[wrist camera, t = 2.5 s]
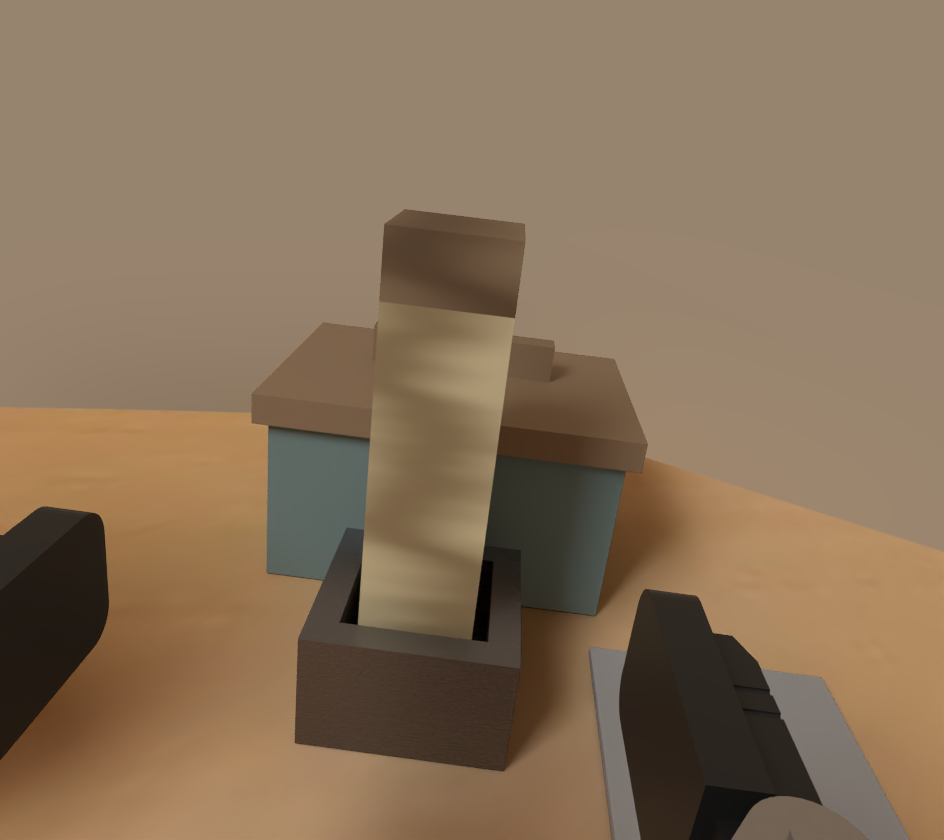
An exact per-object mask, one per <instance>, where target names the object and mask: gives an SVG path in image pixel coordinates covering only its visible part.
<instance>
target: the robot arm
mask: <svg viewBox="0 0 944 840" xmlns="http://www.w3.org/2000/svg"><path fill="white" fill-rule="evenodd" d="M108 609H109V596H108V580H107V565H106V549H105V533H104V525H103V521H102V519H101V517H100V516H99V515H98V514H96V513H90V512H83V511H76V510H68V509H61V508H53V507H41V508H38V509H37V510H35V511H34V512H33V513H31V514H30V515H29V516H27V517H26V518H25V519H24V520H22V521H21V522H20V523H18V524H17V525H16V526H15V527H13V528H12V529H11V530H9V531H8V532H7V533H6V534H4V535H0V760H1V759H2V758H3V756H4V755H5V754H6V753H7V752H8V750H9V749H10V748H11V747H12V746H13V744H14V743H15V742H16V741H17V740H18V738H19V737H20V736H21V735H22V733H23V732H24V731H25V730H26V729H27V727H28V726H29V725H30V724H31V723H32V721H33V720H34V719H35V718H36V717H37V715H38V714H39V713H40V712H41V711H42V709H43V708H44V707H45V706H46V705H47V703H48V702H49V701H50V700H51V698H52V697H53V696H54V695H55V694H56V692H57V691H58V690H59V689H60V688H61V686H62V685H63V684H64V683H65V682H66V680H67V679H68V678H69V677H70V676H71V674H72V673H73V672H74V671H75V670H76V668H77V667H78V666H79V665H80V663H81V662H82V661H83V660H84V659H85V657H86V656H87V655H88V654H89V653H90V651H91V650H92V649H93V648H94V646H95V645H96V644H97V642H98V640H99V639H100V637H101V634H102V632H103V630H104V627H105V624H106V620H107V616H108ZM619 716H620V723H621V729H622V735H623V741H624V746H625V752H626V758H627V764H628V769H629V775H630V781H631V787H632V792H633V798H634V804H635V810H636V815H637V821H638V827H639V832H640V838H641V840H869V839H868V838H867V837H866V836H865V835H864V834H863V833H862V832H861V831H860V830H859V829H857V828H856V827H855V826H854V825H852V824H851V823H850V822H849V821H847V820H846V819H844V818H843V817H841V816H840V815H838V814H837V813H835V812H833V811H832V810H830V809H828V808H826V807H824V806H823V805H822V802H821V800H820V798H819V796H818V794H817V791H816V789H815V787H814V785H813V783H812V780H811V778H810V776H809V774H808V772H807V769H806V767H805V765H804V763H803V761H802V758H801V756H800V754H799V752H798V750H797V747H796V745H795V743H794V741H793V739H792V736H791V734H790V732H789V730H788V728H787V725H786V723H785V721H784V719H781V712H780V710H779V708H778V706H777V704H776V701H775V699H774V697H773V695H770V688H769V686H768V684H767V682H766V679H765V677H764V675H763V673H762V671H761V668H760V666H759V664H758V662H757V661H756V660H755V659H754V658H753V657H752V656H751V655H750V654H749V653H748V652H747V651H746V650H745V649H744V648H743V646H742V645H741V644H740V643H739V642H738V641H737V640H736V639H735V638H734V637H733V636H729V635H722V634H715V633H713V632H712V630H711V627H710V625H709V622H708V620H707V617H706V614H705V612H704V609H703V607H702V604H701V602H700V600H699V598H698V597H697V596H694V595H686V594H679V593H672V592H664V591H657V590H649V589H645V590H644V591H643V593H642V595H641V597H640V600H639V604H638V608H637V612H636V616H635V620H634V624H633V629H632V633H631V637H630V641H629V646H628V650H627V654H626V658H625V663H624V667H623V671H622V676H621V682H620V691H619Z"/></svg>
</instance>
